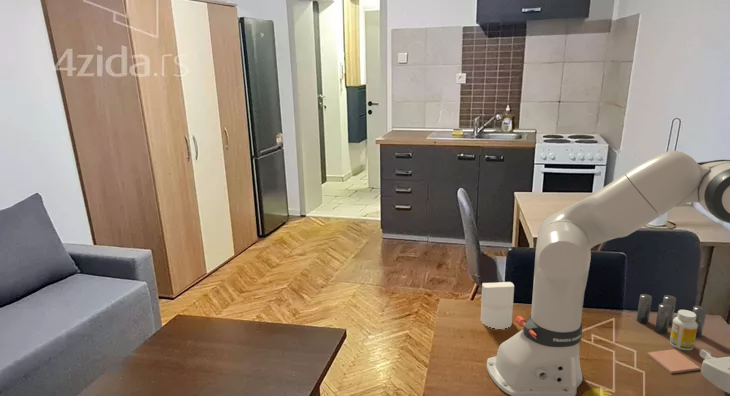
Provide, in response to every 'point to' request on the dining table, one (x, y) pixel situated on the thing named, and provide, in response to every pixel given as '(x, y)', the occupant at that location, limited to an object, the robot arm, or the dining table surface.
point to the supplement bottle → (684, 330)
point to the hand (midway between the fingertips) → (719, 349)
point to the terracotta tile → (673, 361)
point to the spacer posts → (667, 313)
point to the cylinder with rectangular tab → (497, 304)
